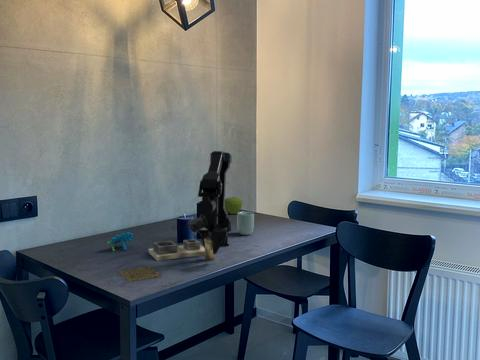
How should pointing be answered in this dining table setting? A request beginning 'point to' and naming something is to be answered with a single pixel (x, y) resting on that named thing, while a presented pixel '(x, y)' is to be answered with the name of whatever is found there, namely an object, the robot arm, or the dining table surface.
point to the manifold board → (176, 249)
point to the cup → (245, 222)
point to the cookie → (139, 274)
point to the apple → (233, 205)
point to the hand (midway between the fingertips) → (210, 250)
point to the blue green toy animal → (120, 240)
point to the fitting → (209, 250)
